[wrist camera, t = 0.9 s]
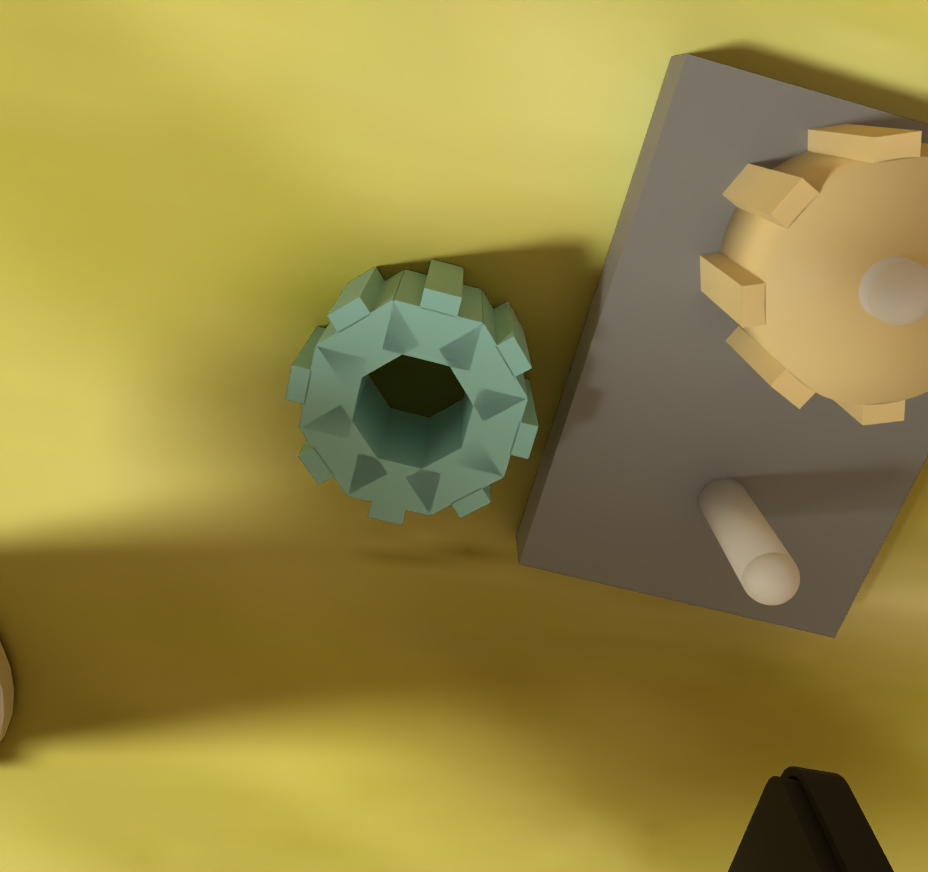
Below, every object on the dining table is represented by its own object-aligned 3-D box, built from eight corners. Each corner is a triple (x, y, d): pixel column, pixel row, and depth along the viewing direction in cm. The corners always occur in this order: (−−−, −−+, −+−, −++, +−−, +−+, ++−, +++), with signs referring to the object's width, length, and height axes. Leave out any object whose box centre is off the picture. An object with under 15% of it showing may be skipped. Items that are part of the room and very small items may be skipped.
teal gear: (496, 487, 31) (499, 548, 27) (294, 439, 30) (266, 493, 26) (556, 291, 28) (570, 326, 24) (336, 233, 28) (312, 258, 24)
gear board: (814, 606, 33) (910, 752, 26) (516, 536, 32) (528, 667, 25) (1033, 162, 27) (1241, 189, 19) (671, 56, 26) (749, 43, 18)
